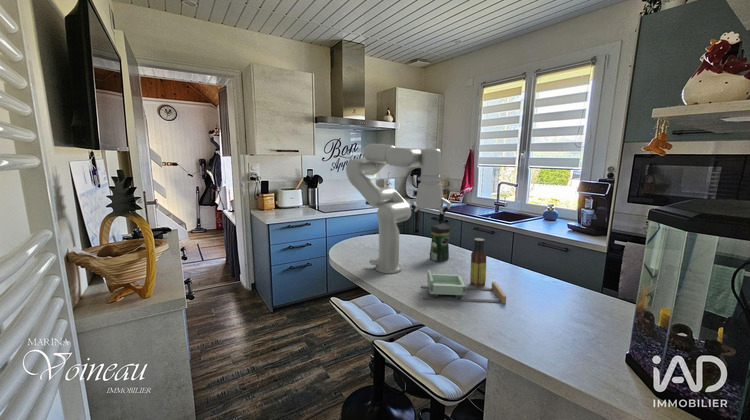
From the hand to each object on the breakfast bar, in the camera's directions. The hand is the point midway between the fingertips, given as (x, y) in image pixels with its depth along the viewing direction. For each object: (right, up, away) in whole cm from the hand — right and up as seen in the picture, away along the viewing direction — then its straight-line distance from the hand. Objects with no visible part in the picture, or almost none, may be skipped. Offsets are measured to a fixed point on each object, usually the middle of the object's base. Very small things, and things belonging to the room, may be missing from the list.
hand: (429, 222), depth 123 cm
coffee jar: (+11, -21, +35) cm, 42 cm away
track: (+11, -28, -5) cm, 31 cm away
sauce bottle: (+21, -27, +4) cm, 34 cm away
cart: (+5, -28, -4) cm, 29 cm away
